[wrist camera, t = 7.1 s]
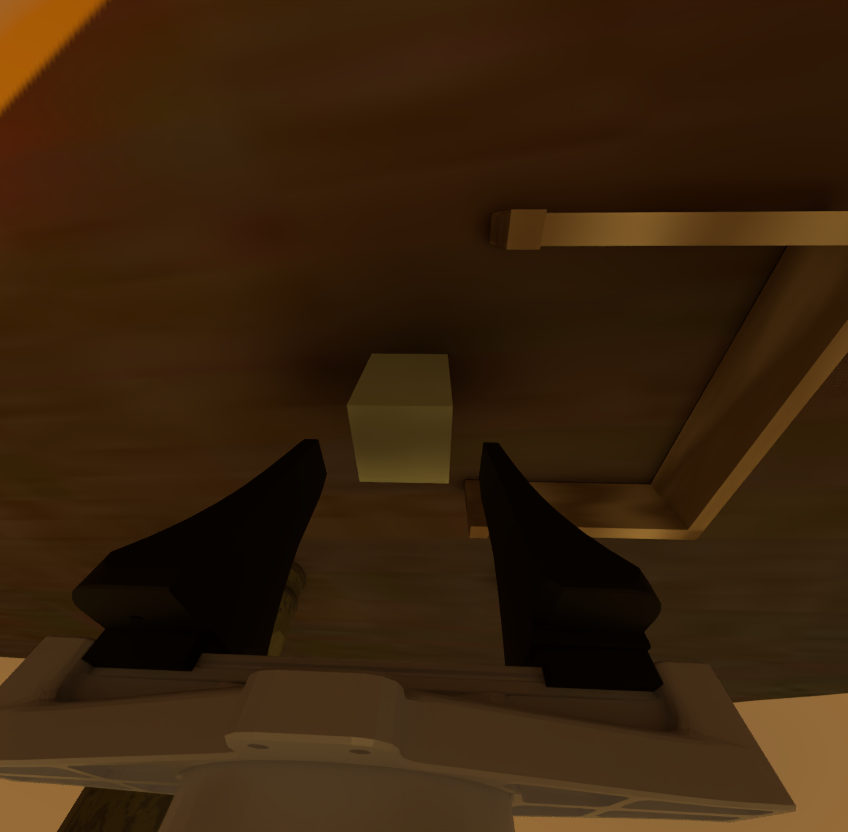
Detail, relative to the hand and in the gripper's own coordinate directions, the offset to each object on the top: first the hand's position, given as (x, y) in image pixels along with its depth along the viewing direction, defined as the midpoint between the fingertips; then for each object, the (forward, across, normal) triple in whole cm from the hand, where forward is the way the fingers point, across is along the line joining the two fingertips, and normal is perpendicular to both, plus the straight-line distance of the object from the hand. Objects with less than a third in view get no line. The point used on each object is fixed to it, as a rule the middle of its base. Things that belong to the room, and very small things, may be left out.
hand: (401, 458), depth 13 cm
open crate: (+7, -11, 0) cm, 13 cm away
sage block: (+7, 0, 0) cm, 7 cm away
